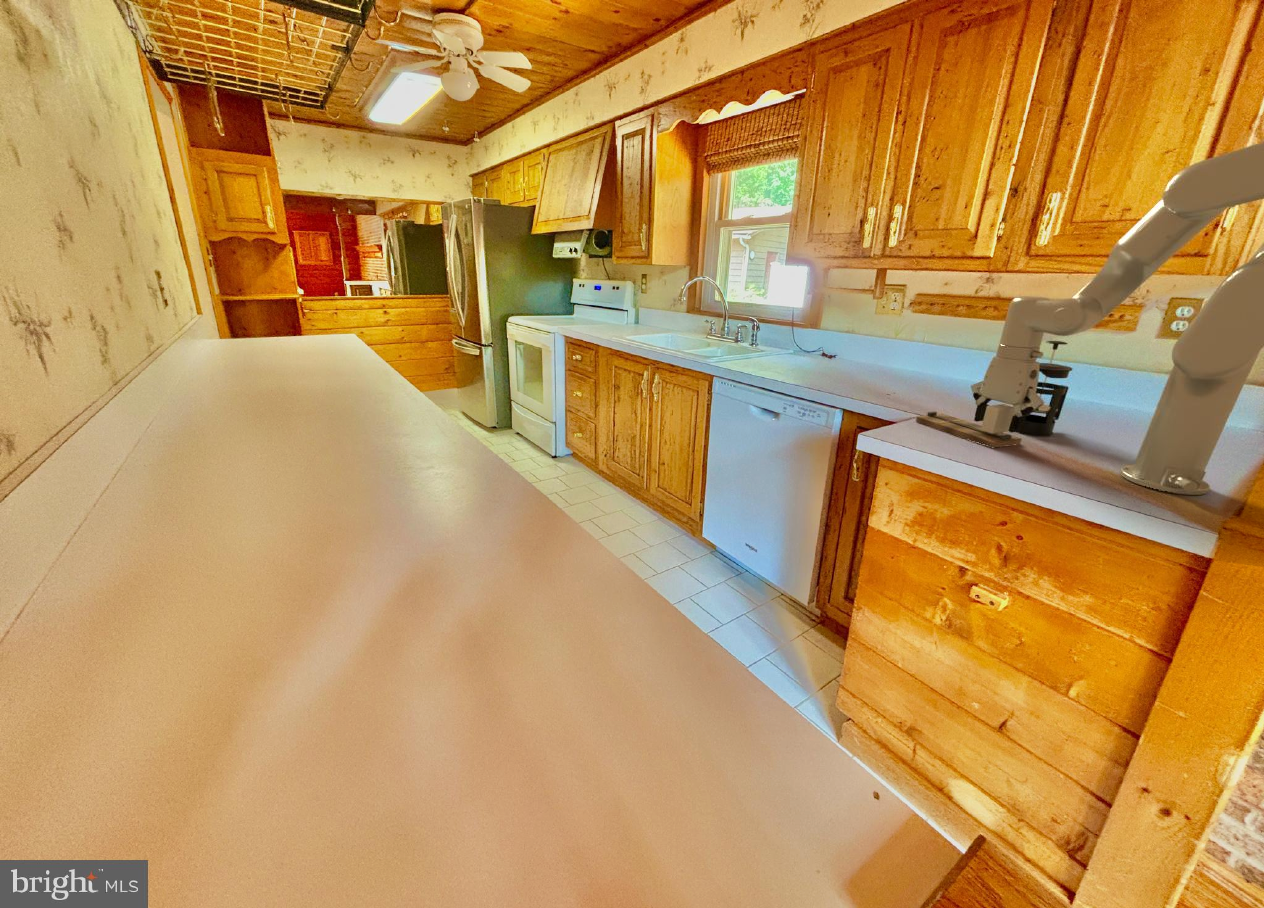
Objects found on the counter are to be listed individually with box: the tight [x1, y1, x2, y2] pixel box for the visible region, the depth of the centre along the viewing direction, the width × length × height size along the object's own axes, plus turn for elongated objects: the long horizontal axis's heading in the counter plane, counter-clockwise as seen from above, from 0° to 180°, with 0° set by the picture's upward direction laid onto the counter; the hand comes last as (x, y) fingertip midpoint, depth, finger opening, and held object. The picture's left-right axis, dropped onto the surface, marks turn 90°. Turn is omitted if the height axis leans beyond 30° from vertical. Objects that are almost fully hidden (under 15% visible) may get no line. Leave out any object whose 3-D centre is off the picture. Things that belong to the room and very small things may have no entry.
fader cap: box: [981, 403, 1016, 434], centre depth 121 cm, size 3×6×7 cm, turn 109°
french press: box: [1015, 340, 1073, 438], centre depth 126 cm, size 12×9×23 cm
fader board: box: [915, 411, 1022, 448], centre depth 129 cm, size 22×9×2 cm, turn 19°
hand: (996, 425), depth 121 cm, fingers open, 8 cm apart
